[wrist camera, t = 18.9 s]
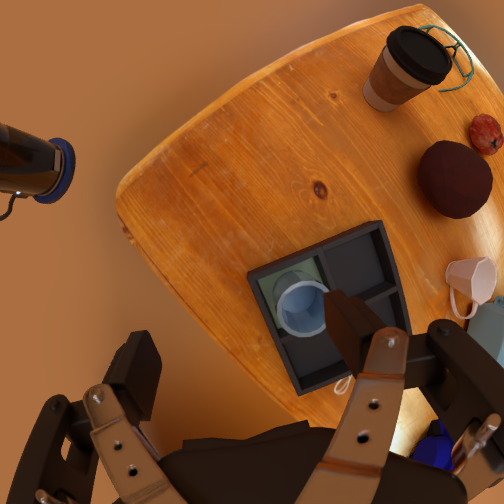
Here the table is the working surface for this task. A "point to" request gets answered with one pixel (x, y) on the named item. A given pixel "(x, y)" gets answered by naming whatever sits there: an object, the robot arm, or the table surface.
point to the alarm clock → (435, 448)
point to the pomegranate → (486, 134)
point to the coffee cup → (406, 68)
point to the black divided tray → (332, 277)
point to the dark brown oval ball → (454, 179)
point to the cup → (471, 281)
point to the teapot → (489, 328)
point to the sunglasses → (453, 55)
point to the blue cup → (299, 303)
